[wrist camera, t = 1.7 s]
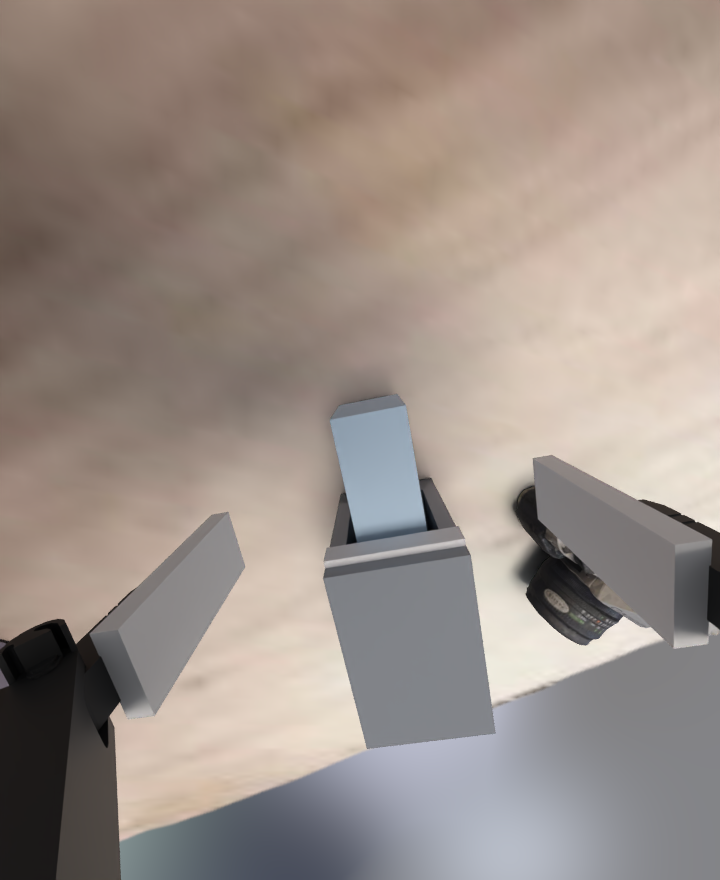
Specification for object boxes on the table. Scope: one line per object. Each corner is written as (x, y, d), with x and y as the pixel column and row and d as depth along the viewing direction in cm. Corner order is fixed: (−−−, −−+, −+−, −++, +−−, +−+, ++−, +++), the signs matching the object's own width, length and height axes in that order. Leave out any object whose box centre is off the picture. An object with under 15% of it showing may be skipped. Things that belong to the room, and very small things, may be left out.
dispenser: (340, 489, 33) (321, 571, 21) (430, 473, 33) (469, 547, 20) (367, 612, 37) (367, 748, 24) (450, 599, 36) (495, 733, 23)
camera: (470, 552, 35) (509, 627, 25) (533, 472, 33) (603, 520, 23) (589, 622, 36) (670, 718, 27) (657, 550, 34) (772, 626, 24)
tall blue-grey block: (339, 405, 29) (329, 419, 22) (397, 393, 28) (405, 405, 21) (378, 586, 33) (380, 646, 26) (429, 578, 32) (445, 636, 26)
